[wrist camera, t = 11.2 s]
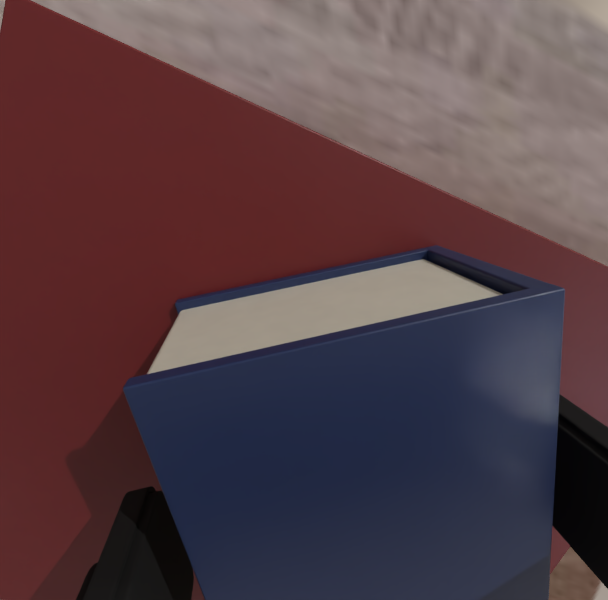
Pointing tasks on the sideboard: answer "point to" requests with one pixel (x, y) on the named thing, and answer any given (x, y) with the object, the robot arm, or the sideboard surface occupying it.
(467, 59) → the sideboard surface
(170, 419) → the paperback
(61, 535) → the hardback
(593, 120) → the sideboard surface
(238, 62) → the sideboard surface
